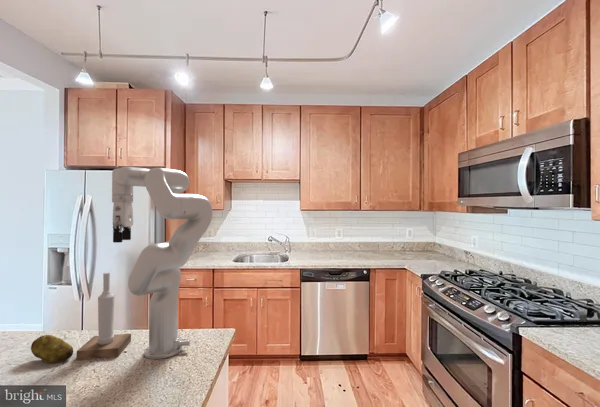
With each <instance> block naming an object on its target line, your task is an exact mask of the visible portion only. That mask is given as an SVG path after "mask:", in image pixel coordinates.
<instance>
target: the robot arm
mask: <svg viewBox="0 0 600 407" xmlns="http://www.w3.org/2000/svg"><path fill="white" fill-rule="evenodd" d="M111 176H112V177H111V203H113V207H112V242H113V243H116V244H117V243H122V242H123V241H131V239H132V226H134V211H133V210H134V209H133V203H134V187H143V188H146V191H147V192H148V195H149V196H150V199H151V201H152V202H153V204H154V207H155V208H156V211H157V212H158V214H159V215H160V216H161V217H162V218H163V219H166V220H185V221H184V222H183V223H181V224H180V225H179V226H178V227H176V230H174V233H173V234H172V236H171V238H170V239H168V240H167V241H165V242H158V243H153V244H152V243H151V244H149V245H147V246H145V247H144V248H143V249H142V251H141V253H140V254H139V256H138V257H137V259H136V261H135V263H134V265H133V267H132V269H131V271H130V274H129V277H128V281H127V286H128V291H130V293H131V294H132V295H135V296H137V297H138V296H139V297H142V296H147V295H151V297H150V301H149V305H148V308H149V309H148V329H149V330H148V346H146V348H145V349H144V351H143V355H144V356H145V358H148V359H151V360H159V359H160V360H162V359H167V358H169V357H174V356H175V355H177V354H179V353H180V352H181V351H182V349H183V347H187V346H190V345H191V340H190V339H189V338H186V337H185V338H181V336H180V334H179V333H178V332H179V331H178V330H179V327H178V325H179V324H178V323H179V321H178V320H179V319H178V318H179V316H178V315H179V289H180V284H181V279H182V271H181V268H182V267H184V266H185V264H186V263H187V262H188V260H189V258H190V256H191V255H192V254H193V252H194V250H195V248H196V246H197V245H198V243H199V241H201V238H202V237H203V236H204V235H205V233H206V232H207V230H208V229H209V226H210V225H211V222H212V218H213V206H212V203H211V202H210V200H209V199H208V198H207V197H206V196H203V195H200V194H195V193H185V191H186V190H188V189H189V186H190V178H189V176H188V175H187V174H186V172H183V171H182V170H178V169H173V168H166V167H165V168H164V167H153V168H144V167H137V166H122V167H120V168H114V169H112V172H111Z"/></svg>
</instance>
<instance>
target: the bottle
mask: <svg viewBox="0 0 600 407" xmlns="http://www.w3.org/2000/svg"><path fill="white" fill-rule="evenodd" d="M102 275H103V277H102V279H103V283H102V286H103V288H102V289H103V290H102V292H101V294H100V295H99V296H97V306H98V307H97V310H98V311H97V314H98V315H97V316H98V317H97V320H98V324H97V325H98V329H97V330H98V332H97V333H98V336H99V337H98V344H100V345H104V344H109V343H111V342H113V340H114V335H115V334H114V324H115V294H113V293H112V291H111V290H110V286H111V285H110V284H111V283H110V281H111V280H110V277H111V272H103V273H102Z"/></svg>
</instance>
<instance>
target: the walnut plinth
mask: <svg viewBox="0 0 600 407" xmlns="http://www.w3.org/2000/svg"><path fill="white" fill-rule="evenodd" d="M113 335H114V340H113V342H111V343H109V344H104V345H100V344H98V337H99V335H93V337H91V338H90V339H89V340H88V341H87V342H85V343H84V344H83V345H82V346H81V347H80V348H78V349H77V351H76V361H83V360H94V359H95V360H96V359H106V358H108V359H109V358H119V357H120V355H121V354H122V353H123V352H124V350H125V349H126V348H127V347H128V346H129V345H130V343H131V342H132V333H122V334H119V333H118V334H113Z"/></svg>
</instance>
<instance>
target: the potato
mask: <svg viewBox="0 0 600 407" xmlns="http://www.w3.org/2000/svg"><path fill="white" fill-rule="evenodd" d="M30 351H31V353H32V354H33V356H34V357H36V359H40V360H41V361H42V362H44V363H47V364H55V363H60V362H64V361H67V360H68V359H71V357H72V356H73V355H74V348H73V346H72V345H71V344H70V343H68V342H66V341H65V340H64V339H62V338H60V337H57V336H55V335H52V334H45V335H41V336H39V337H38V338H36V339H34V340H33V341H32V343H31V346H30Z"/></svg>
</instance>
